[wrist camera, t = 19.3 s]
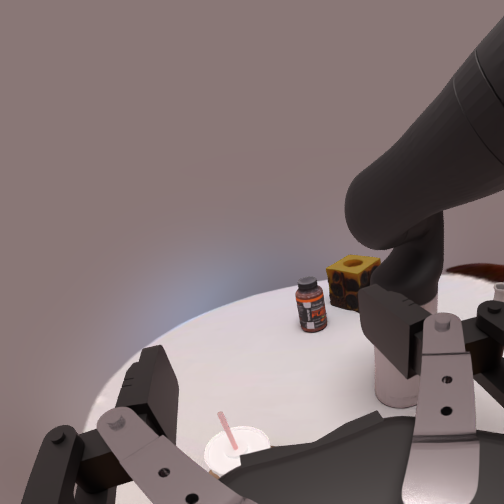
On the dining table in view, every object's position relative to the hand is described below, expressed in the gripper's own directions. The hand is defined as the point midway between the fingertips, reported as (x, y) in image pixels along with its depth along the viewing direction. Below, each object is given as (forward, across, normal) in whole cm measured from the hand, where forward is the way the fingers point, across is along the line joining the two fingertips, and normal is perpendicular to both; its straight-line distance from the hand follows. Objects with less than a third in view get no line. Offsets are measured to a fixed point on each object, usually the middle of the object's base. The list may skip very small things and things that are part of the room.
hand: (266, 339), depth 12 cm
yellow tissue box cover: (+54, -28, +30) cm, 68 cm away
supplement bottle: (+49, -14, +30) cm, 59 cm away
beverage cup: (+8, +4, +25) cm, 27 cm away
